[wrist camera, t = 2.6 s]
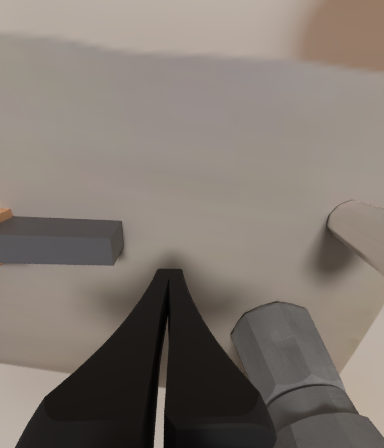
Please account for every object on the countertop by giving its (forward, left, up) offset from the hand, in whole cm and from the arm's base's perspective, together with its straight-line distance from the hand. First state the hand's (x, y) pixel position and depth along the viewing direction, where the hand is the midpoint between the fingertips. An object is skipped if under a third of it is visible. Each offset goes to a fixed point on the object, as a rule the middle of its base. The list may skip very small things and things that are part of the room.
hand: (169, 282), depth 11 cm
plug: (-9, +4, -6) cm, 12 cm away
